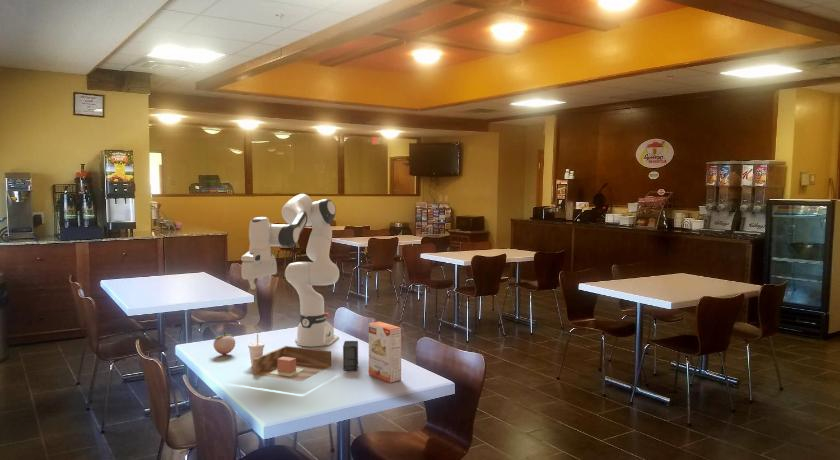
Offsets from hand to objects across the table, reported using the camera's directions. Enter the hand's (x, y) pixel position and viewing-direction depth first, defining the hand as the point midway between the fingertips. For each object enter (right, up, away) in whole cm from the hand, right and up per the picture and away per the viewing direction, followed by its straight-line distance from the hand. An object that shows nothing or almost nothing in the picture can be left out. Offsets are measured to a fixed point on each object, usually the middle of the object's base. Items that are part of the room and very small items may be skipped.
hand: (260, 287), depth 254 cm
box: (+40, -32, -11) cm, 52 cm away
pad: (+16, -32, -18) cm, 40 cm away
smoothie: (+1, -32, -10) cm, 34 cm away
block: (+16, -31, -18) cm, 39 cm away
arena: (+18, -32, -16) cm, 40 cm away
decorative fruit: (-17, -31, +8) cm, 36 cm away
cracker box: (+55, -33, -23) cm, 68 cm away
